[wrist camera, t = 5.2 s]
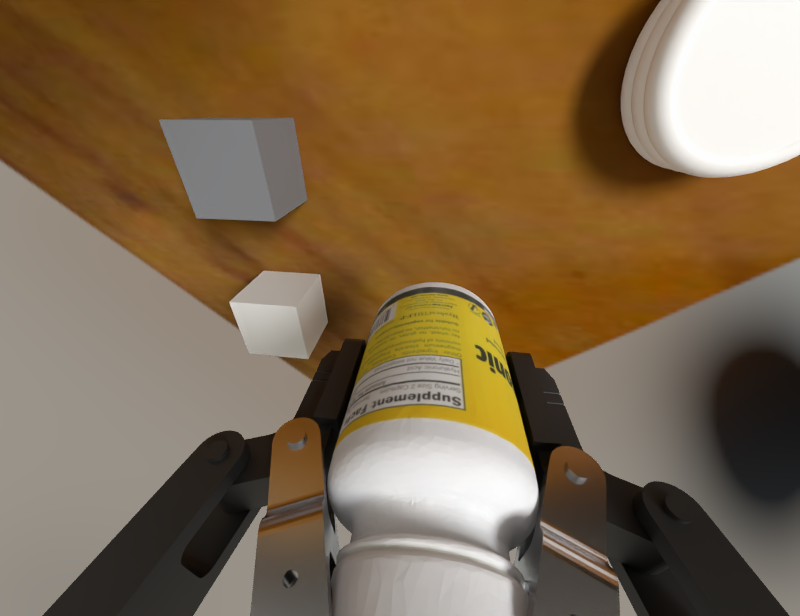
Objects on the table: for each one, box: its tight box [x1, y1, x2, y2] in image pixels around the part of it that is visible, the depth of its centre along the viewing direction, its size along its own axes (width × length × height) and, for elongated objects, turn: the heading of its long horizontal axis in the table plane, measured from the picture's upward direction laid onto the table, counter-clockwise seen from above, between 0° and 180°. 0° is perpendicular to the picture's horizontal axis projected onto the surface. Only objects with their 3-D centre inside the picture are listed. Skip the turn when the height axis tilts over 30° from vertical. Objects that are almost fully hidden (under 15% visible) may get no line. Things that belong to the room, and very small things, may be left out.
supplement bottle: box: [327, 282, 540, 616], centre depth 9 cm, size 5×5×10 cm
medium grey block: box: [159, 117, 307, 221], centre depth 18 cm, size 5×5×5 cm
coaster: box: [621, 0, 800, 178], centre depth 14 cm, size 10×10×4 cm
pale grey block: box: [229, 271, 328, 359], centre depth 24 cm, size 5×5×5 cm
